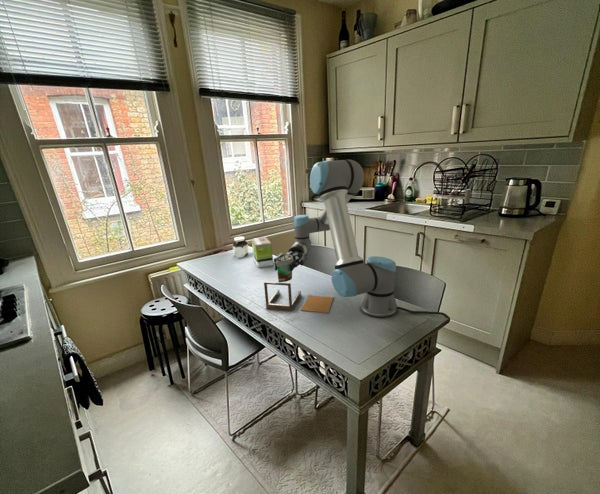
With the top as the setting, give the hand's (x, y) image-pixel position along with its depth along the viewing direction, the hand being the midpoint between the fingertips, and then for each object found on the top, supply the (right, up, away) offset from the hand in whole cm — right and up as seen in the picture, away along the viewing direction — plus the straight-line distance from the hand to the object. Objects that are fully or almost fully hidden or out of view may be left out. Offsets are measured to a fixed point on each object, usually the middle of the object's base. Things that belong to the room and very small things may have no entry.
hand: (283, 267), depth 136 cm
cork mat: (+15, -16, +9) cm, 24 cm away
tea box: (-16, +7, +64) cm, 66 cm away
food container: (+2, -5, +7) cm, 9 cm away
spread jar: (-33, +13, +80) cm, 88 cm away
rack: (0, -15, +13) cm, 20 cm away
